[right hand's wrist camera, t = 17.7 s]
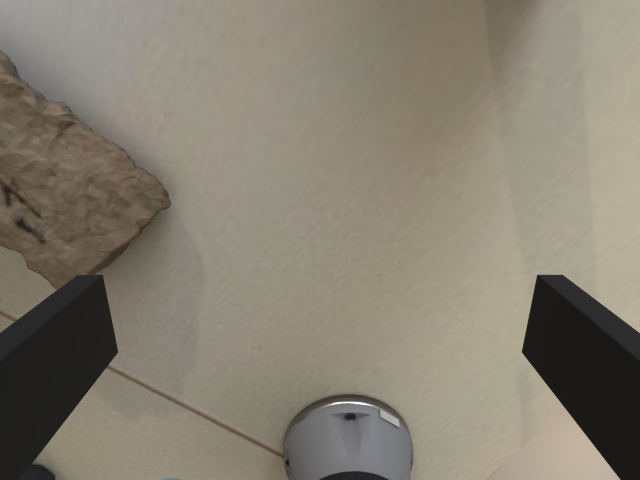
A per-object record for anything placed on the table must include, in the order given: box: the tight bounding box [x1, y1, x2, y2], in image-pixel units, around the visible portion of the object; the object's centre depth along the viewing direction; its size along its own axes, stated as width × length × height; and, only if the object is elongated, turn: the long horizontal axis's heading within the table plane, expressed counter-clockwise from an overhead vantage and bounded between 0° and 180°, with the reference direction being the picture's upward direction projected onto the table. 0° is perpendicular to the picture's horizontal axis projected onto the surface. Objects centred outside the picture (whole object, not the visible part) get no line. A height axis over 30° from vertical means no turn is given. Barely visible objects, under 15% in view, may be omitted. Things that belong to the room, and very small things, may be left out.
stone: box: [0, 50, 171, 289], centre depth 35 cm, size 21×15×6 cm
